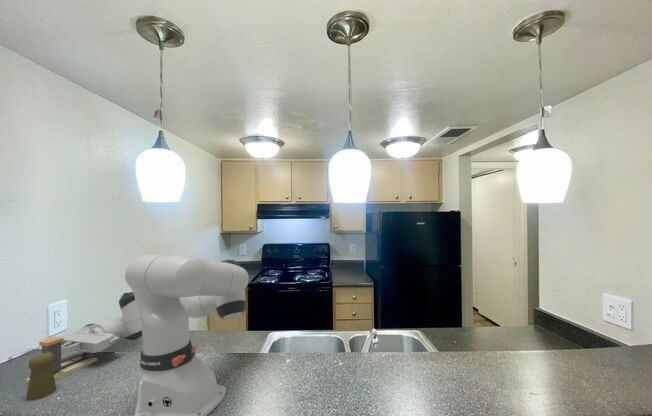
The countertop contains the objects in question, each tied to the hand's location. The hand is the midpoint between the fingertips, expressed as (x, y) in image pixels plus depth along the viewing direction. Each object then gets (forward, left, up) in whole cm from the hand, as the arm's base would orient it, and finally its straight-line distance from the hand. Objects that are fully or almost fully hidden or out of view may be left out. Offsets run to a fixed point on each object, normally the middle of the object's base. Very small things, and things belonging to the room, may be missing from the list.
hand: (57, 352), depth 89 cm
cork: (-8, +8, -7) cm, 14 cm away
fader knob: (0, +2, -5) cm, 6 cm away
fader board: (0, -2, -7) cm, 7 cm away
